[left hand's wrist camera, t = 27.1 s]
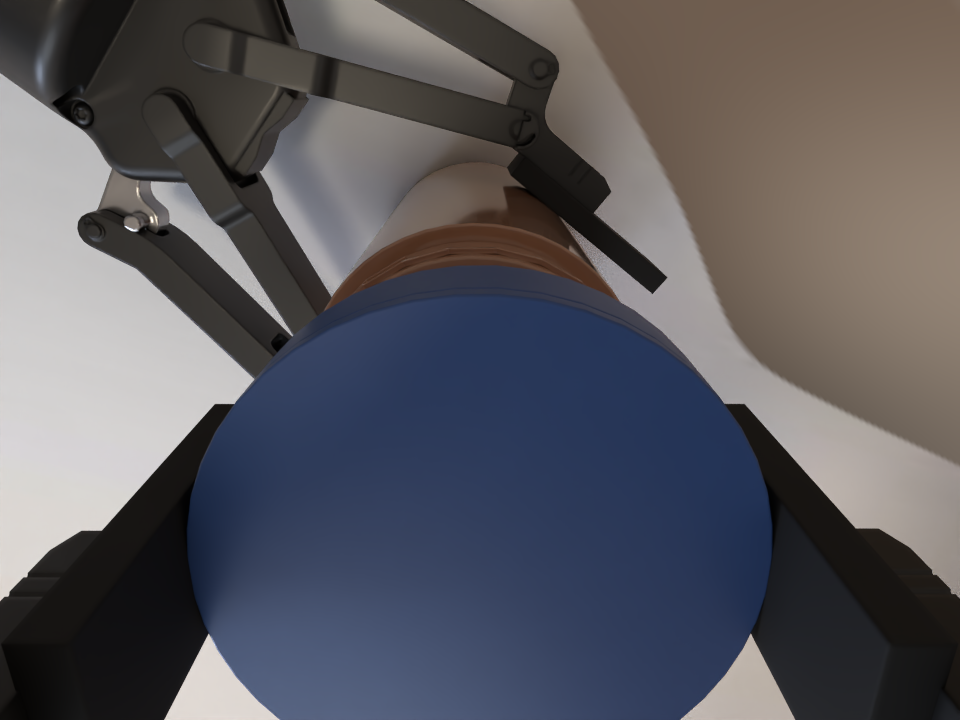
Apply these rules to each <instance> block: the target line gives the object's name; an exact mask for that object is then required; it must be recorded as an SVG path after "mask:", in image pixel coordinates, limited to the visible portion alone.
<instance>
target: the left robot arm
mask: <svg viewBox="0 0 960 720" xmlns="http://www.w3.org/2000/svg"><path fill="white" fill-rule="evenodd" d="M233 406H234V404H215V405H214V406H213V407H212V408H211V409H210V410H209V411H208V413H207V414H206V415H205V416H204V417H203V418H202V419H201V420H200V422H199V423H198V424H197V425H196V426H195V427H194V428H193V429H192V430H191V432H190V433H189V434H188V435H187V436H186V437H185V438H184V439H183V441H182V442H181V443H180V444H179V445H178V446H177V447H176V448H175V450H174V451H173V452H172V453H171V454H170V455H169V456H168V457H167V458H166V460H165V461H164V462H163V463H162V464H161V465H160V466H159V467H158V469H157V470H156V471H155V472H154V473H153V474H152V475H151V476H150V478H149V479H148V480H147V481H146V482H145V483H144V484H143V485H142V486H141V488H140V489H139V490H138V491H137V492H136V493H135V494H134V495H133V497H132V498H131V499H130V500H129V501H128V502H127V503H126V504H125V506H124V507H123V508H122V509H121V510H120V511H119V512H118V513H117V514H116V516H115V517H114V518H113V519H112V520H111V521H110V522H109V523H108V525H107V526H106V527H105V528H104V529H103V530H102V531H80V532H79V533H77V534H76V535H74V536H72V537H71V538H69V539H67V540H66V541H64V542H63V543H61V544H59V545H58V546H56V547H54V548H53V549H51V550H50V551H49V552H48V553H47V554H46V555H45V556H44V557H43V558H42V559H41V560H40V561H39V562H38V563H37V564H36V565H35V566H34V567H33V568H32V569H31V570H30V571H29V572H28V577H23V578H22V580H21V581H20V582H19V583H18V584H17V585H16V586H15V587H14V588H13V589H12V590H11V591H10V594H9V597H4V598H3V599H2V600H1V601H0V720H164V719H165V717H166V715H167V713H168V711H169V709H170V707H171V705H172V704H173V702H174V700H175V698H176V696H177V694H178V692H179V690H180V688H181V686H182V684H183V682H184V680H185V678H186V676H187V674H188V672H189V671H190V669H191V667H192V665H193V663H194V661H195V659H196V657H197V655H198V653H199V651H200V649H201V647H202V645H203V643H204V641H205V639H206V638H207V636H208V634H209V633H208V631H207V629H206V627H205V625H204V623H203V620H202V617H201V614H200V611H199V608H198V605H197V603H196V600H195V596H194V591H193V585H192V580H191V574H190V569H189V563H188V556H187V521H188V514H189V506H190V498H191V493H192V490H193V487H194V483H195V480H196V477H197V473H198V470H199V467H200V463H201V461H202V459H203V457H204V455H205V453H206V451H207V449H208V446H209V444H210V442H211V440H212V438H213V436H214V434H215V432H216V430H217V429H218V427H219V426H220V424H221V423H222V422H223V420H224V419H225V417H226V416H227V414H228V413H229V411H230V410H231V408H232V407H233ZM725 406H726V407H727V408H728V410H729V411H730V413H731V414H732V415H733V417H734V418H735V419H736V421H737V422H738V424H739V425H740V426H741V428H742V430H743V432H744V434H745V436H746V438H747V440H748V442H749V444H750V446H751V448H752V450H753V452H754V454H755V456H756V458H757V460H758V463H759V466H760V469H761V472H762V476H763V479H764V482H765V485H766V488H767V491H768V497H769V504H770V511H771V517H772V524H773V536H772V560H771V566H770V572H769V578H768V583H767V589H766V594H765V598H764V601H763V604H762V607H761V610H760V613H759V616H758V619H757V621H756V623H755V625H754V627H753V629H752V631H751V634H752V636H753V638H754V640H755V642H756V644H757V646H758V648H759V650H760V652H761V654H762V656H763V658H764V660H765V662H766V664H767V666H768V667H769V669H770V671H771V673H772V675H773V677H774V679H775V681H776V683H777V685H778V687H779V689H780V691H781V693H782V695H783V697H784V699H785V700H786V702H787V704H788V706H789V708H790V710H791V712H792V714H793V716H794V718H795V720H960V598H959V597H958V596H957V595H956V594H951V589H950V588H949V587H948V586H947V585H946V584H945V583H944V582H943V581H942V580H941V579H940V578H939V577H938V576H937V575H933V574H932V570H931V569H930V568H929V567H928V566H927V565H926V564H925V563H924V562H923V561H922V560H921V559H920V558H919V557H918V555H917V554H916V553H915V552H914V551H913V550H912V549H911V548H909V547H908V546H906V545H904V544H903V543H901V542H900V541H898V540H896V539H895V538H893V537H891V536H890V535H888V534H886V533H885V532H883V531H882V530H880V529H856V528H855V527H854V526H853V525H852V524H851V523H850V522H849V521H848V519H847V518H846V517H845V516H844V515H843V514H842V513H841V512H840V510H839V509H838V508H837V507H836V506H835V505H834V504H833V503H832V502H831V500H830V499H829V498H828V497H827V496H826V495H825V494H824V493H823V491H822V490H821V489H820V488H819V487H818V486H817V485H816V484H815V482H814V481H813V480H812V479H811V478H810V477H809V476H808V475H807V474H806V472H805V471H804V470H803V469H802V468H801V467H800V466H799V465H798V463H797V462H796V461H795V460H794V459H793V458H792V457H791V456H790V455H789V453H788V452H787V451H786V450H785V449H784V448H783V447H782V446H781V444H780V443H779V442H778V441H777V440H776V439H775V438H774V437H773V435H772V434H771V433H770V432H769V431H768V430H767V429H766V428H765V427H764V425H763V424H762V423H761V422H760V421H759V420H758V419H757V418H756V416H755V415H754V414H753V413H752V412H751V411H750V410H749V409H748V407H747V406H746V405H745V404H725Z"/></svg>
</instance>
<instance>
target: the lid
mask: <svg viewBox="0 0 960 720" xmlns="http://www.w3.org/2000/svg"><path fill="white" fill-rule="evenodd" d="M772 536H773V524H772V517H771V511H770V504H769V497H768V491H767V488H766V485H765V482H764V479H763V476H762V472H761V469H760V466H759V463H758V460H757V458H756V456H755V454H754V452H753V450H752V448H751V446H750V444H749V442H748V440H747V438H746V436H745V434H744V432H743V430H742V428H741V426H740V425H739V424H738V422H737V421H736V419H735V418H734V417H733V415H732V414H731V413H730V411H729V410H728V408H727V407H726V406H725V404H724V403H723V401H722V400H721V399H720V397H719V396H718V395H717V394H716V392H715V391H714V390H713V389H712V388H711V386H710V385H709V384H708V383H707V382H706V380H705V379H704V378H703V377H702V375H701V374H700V373H699V372H698V371H697V369H696V368H695V367H694V366H693V365H692V363H691V362H690V361H689V360H688V359H687V357H686V356H685V355H684V354H683V353H682V352H681V351H680V350H679V349H678V348H677V347H676V346H675V345H674V344H673V343H672V342H671V341H670V340H669V339H668V338H667V337H666V335H665V334H664V333H663V332H662V331H660V330H659V329H658V328H656V327H655V326H654V325H653V324H651V323H650V322H649V321H647V320H646V319H645V318H643V317H642V316H641V315H640V314H638V313H637V312H636V311H634V310H633V309H631V308H629V307H627V306H626V305H624V304H622V303H620V302H619V301H617V300H615V299H613V298H612V297H610V296H608V295H606V294H605V293H603V292H600V291H598V290H595V289H593V288H590V287H588V286H585V285H583V284H580V283H578V282H575V281H573V280H570V279H567V278H563V277H559V276H555V275H551V274H548V273H544V272H540V271H536V270H530V269H522V268H514V267H506V266H497V265H479V266H452V267H445V268H438V269H431V270H423V271H419V272H415V273H411V274H408V275H404V276H401V277H397V278H393V279H390V280H386V281H383V282H381V283H379V284H376V285H374V286H372V287H369V288H367V289H364V290H362V291H360V292H357V293H355V294H353V295H351V296H349V297H347V298H346V299H344V300H342V301H341V302H339V303H337V304H336V305H334V306H332V307H331V308H329V309H327V310H326V311H324V312H322V313H321V314H319V315H318V316H317V317H316V318H314V319H313V320H312V321H311V322H309V323H308V324H307V325H306V326H304V327H303V328H302V329H301V330H299V331H298V332H297V333H296V334H295V335H294V336H293V337H292V338H291V339H290V340H289V341H288V342H287V343H286V344H285V345H284V346H283V347H282V348H281V349H280V351H279V352H278V353H277V354H276V355H275V356H274V357H273V358H272V359H271V360H270V362H269V363H268V364H267V365H266V366H265V368H264V369H263V370H262V371H261V372H260V374H259V375H258V376H257V377H256V378H255V380H254V381H253V382H252V383H251V384H250V386H249V387H248V388H247V389H246V390H245V392H244V393H243V394H242V395H241V396H240V398H239V399H238V400H237V401H236V403H235V404H234V406H233V407H232V408H231V410H230V411H229V413H228V414H227V416H226V417H225V419H224V420H223V422H222V423H221V424H220V426H219V427H218V429H217V430H216V432H215V434H214V436H213V438H212V440H211V442H210V444H209V446H208V449H207V451H206V453H205V455H204V457H203V459H202V461H201V463H200V467H199V470H198V473H197V477H196V480H195V483H194V487H193V490H192V493H191V498H190V506H189V514H188V521H187V556H188V563H189V569H190V574H191V580H192V585H193V591H194V596H195V600H196V603H197V605H198V608H199V611H200V614H201V617H202V620H203V623H204V625H205V627H206V629H207V631H208V633H209V635H210V636H211V638H212V640H213V642H214V644H215V646H216V648H217V650H218V652H219V653H220V655H221V656H222V658H223V659H224V660H225V662H226V663H227V665H228V666H229V667H230V669H231V670H232V672H233V673H234V675H235V676H236V677H237V679H238V680H239V681H240V682H241V683H242V684H243V685H244V686H245V687H246V688H247V689H248V691H249V692H250V693H251V694H252V695H253V696H254V697H255V698H256V699H257V700H258V701H259V702H260V703H261V704H262V705H263V706H265V707H266V708H267V709H268V710H269V711H270V712H272V713H273V714H274V715H275V716H276V717H277V718H279V719H280V720H680V719H681V718H682V717H684V716H685V715H686V714H687V713H688V712H689V711H690V710H692V709H693V708H694V707H695V706H696V705H697V704H698V703H699V702H701V701H702V700H703V699H704V698H705V697H706V696H707V695H708V693H709V692H710V691H711V690H712V689H713V688H714V687H715V686H716V684H717V683H718V682H719V681H720V680H721V679H722V678H723V677H724V675H725V674H726V673H727V671H728V670H729V668H730V667H731V665H732V664H733V662H734V661H735V660H736V658H737V657H738V655H739V654H740V652H741V651H742V649H743V648H744V646H745V644H746V641H747V639H748V637H749V635H750V633H751V631H752V629H753V627H754V625H755V623H756V621H757V619H758V616H759V613H760V610H761V607H762V604H763V601H764V598H765V594H766V589H767V583H768V578H769V572H770V566H771V560H772Z"/></svg>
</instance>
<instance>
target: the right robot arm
mask: <svg viewBox="0 0 960 720" xmlns="http://www.w3.org/2000/svg"><path fill="white" fill-rule="evenodd" d="M375 1H377V2H379V3H381V4H382V5H384V6H386V7H387V8H389V9H391V10H393V11H394V12H396V13H398V14H399V15H401V16H403V17H405V18H406V19H408V20H410V21H411V22H413V23H415V24H417V25H418V26H420V27H422V28H423V29H425V30H427V31H429V32H430V33H432V34H434V35H435V36H437V37H439V38H441V39H442V40H444V41H446V42H448V43H449V44H451V45H453V46H454V47H456V48H458V49H460V50H461V51H463V52H465V53H466V54H468V55H470V56H472V57H473V58H475V59H477V60H478V61H480V62H482V63H484V64H485V65H487V66H489V67H490V68H492V69H494V70H496V71H497V72H499V73H501V74H502V75H504V76H506V77H508V78H509V79H511V80H513V81H514V82H513V85H512V88H511V91H510V94H509V97H508V100H507V103H506V105H504V104H500V103H496V102H493V101H489V100H485V99H482V98H478V97H474V96H471V95H467V94H463V93H460V92H456V91H452V90H449V89H445V88H441V87H438V86H434V85H431V84H427V83H423V82H420V81H416V80H412V79H409V78H405V77H401V76H398V75H394V74H390V73H387V72H383V71H379V70H376V69H372V68H368V67H365V66H361V65H357V64H354V63H350V62H347V61H343V60H339V59H336V58H332V57H328V56H325V55H321V54H317V53H314V52H310V51H306V50H303V49H300V48H299V45H298V42H297V39H296V36H295V33H294V31H293V28H292V25H291V22H290V19H289V16H288V13H287V10H286V7H285V4H284V1H283V0H0V73H1V74H2V75H4V76H5V77H7V78H8V79H9V80H11V81H12V82H14V83H15V84H16V85H18V86H19V87H21V88H22V89H23V90H25V91H26V92H28V93H29V94H30V95H32V96H33V97H34V98H36V99H37V100H39V101H40V102H41V103H43V104H44V105H46V106H47V107H48V108H50V109H51V110H53V111H54V112H56V113H57V114H59V115H60V116H62V117H63V118H65V119H66V120H68V121H70V122H71V123H73V124H74V125H76V126H78V127H79V128H80V129H82V130H83V131H84V132H86V133H87V134H88V135H89V137H90V138H91V139H92V140H93V141H94V143H95V144H96V145H97V147H98V148H99V150H100V151H101V153H102V155H103V157H104V159H105V160H106V162H107V163H108V164H109V165H110V166H111V167H112V171H111V174H110V176H109V179H108V182H107V185H106V188H105V191H104V193H103V196H102V199H101V202H100V205H99V208H98V209H97V210H96V211H94V212H90V213H87V214H85V215H84V216H82V217H81V218H80V220H79V221H78V228H77V229H78V232H79V235H80V237H81V238H82V240H83V241H84V242H85V243H87V244H88V245H90V246H91V247H93V248H95V249H98V250H100V251H102V252H104V253H106V254H108V255H110V256H112V257H114V258H116V259H118V260H120V261H122V262H124V263H126V264H128V265H130V266H132V267H134V268H136V269H137V270H138V271H139V272H141V273H142V274H143V275H144V276H145V277H146V278H147V279H148V280H149V281H150V282H151V283H152V284H153V285H154V286H156V287H157V288H158V289H159V290H160V291H161V292H162V293H163V294H164V295H165V296H166V297H167V298H168V299H169V300H170V301H172V302H173V303H174V304H175V305H176V306H177V307H178V308H179V309H180V310H181V311H182V312H183V313H184V314H185V315H187V316H188V317H189V318H190V319H191V320H192V321H193V322H194V323H195V324H196V325H197V326H198V327H199V328H200V329H202V330H203V331H204V332H205V333H206V334H207V335H208V336H209V337H210V338H211V339H212V340H213V341H214V342H215V343H217V344H218V345H219V346H220V347H221V348H222V349H223V350H224V351H225V352H226V353H227V354H228V355H229V356H230V357H231V358H233V359H234V360H235V361H236V362H237V363H238V364H239V365H240V366H241V367H242V368H243V369H244V370H245V371H246V372H248V373H249V374H250V375H251V376H252V377H253V378H254V379H255V378H256V377H257V376H258V375H259V374H260V372H261V371H262V370H263V369H264V368H265V366H266V365H267V364H268V363H269V362H270V360H271V359H272V358H273V357H274V356H275V355H276V354H277V353H278V352H279V351H280V349H281V348H282V347H283V346H284V345H285V344H286V343H287V342H288V341H289V340H290V339H291V338H292V336H291V335H290V334H289V333H288V332H287V331H286V330H285V329H284V328H283V327H282V326H281V325H280V324H279V323H278V322H277V321H276V320H275V319H274V318H272V317H271V316H270V315H269V314H268V313H267V312H266V311H265V310H264V309H263V308H262V307H261V306H260V305H259V304H258V303H257V302H256V301H255V300H254V299H253V298H252V297H251V296H250V295H249V294H248V293H247V292H246V291H245V290H244V289H243V288H242V287H241V286H240V285H239V284H238V283H237V282H236V281H235V280H234V279H233V278H232V277H231V276H230V275H229V274H227V273H226V272H225V271H224V270H223V269H222V268H221V267H220V266H219V265H218V264H217V263H216V262H215V261H214V260H213V259H212V258H211V257H210V256H209V255H208V254H207V253H206V252H205V251H204V250H203V249H202V248H201V247H200V246H199V245H198V244H197V243H196V242H195V241H193V240H192V239H191V238H190V237H189V236H188V235H187V234H185V233H184V232H182V231H181V230H180V229H178V228H177V227H175V226H174V225H172V224H170V223H169V212H168V210H167V208H166V207H164V206H163V205H162V204H161V203H160V202H159V201H158V200H156V198H155V197H154V196H153V194H152V191H151V181H156V182H178V183H188V185H189V186H190V188H191V189H192V191H193V192H194V194H195V195H196V197H197V198H198V200H199V201H200V203H201V204H202V206H203V208H204V209H205V211H206V212H207V214H208V215H209V217H210V218H211V219H212V220H213V221H214V222H215V223H216V224H217V225H219V226H220V227H222V228H223V229H224V230H225V231H226V232H227V234H228V235H229V237H230V238H231V240H232V242H233V243H234V245H235V246H236V248H237V249H238V251H239V252H240V254H241V255H242V257H243V259H244V260H245V262H246V263H247V265H248V266H249V268H250V269H251V271H252V272H253V274H254V275H255V277H256V279H257V280H258V282H259V283H260V285H261V286H262V288H263V289H264V291H265V292H266V294H267V296H268V297H269V299H270V300H271V302H272V303H273V305H274V306H275V308H276V309H277V311H278V313H279V314H280V316H281V317H282V319H283V320H284V322H285V323H286V325H287V326H288V328H289V330H290V331H291V333H292V334H293V336H294V335H295V334H296V333H297V332H298V331H299V330H301V329H302V328H303V327H304V326H306V325H307V324H308V323H309V322H311V321H312V320H313V319H314V318H316V317H317V316H318V315H319V314H321V313H322V312H324V310H325V308H326V306H327V305H328V303H329V301H330V300H331V298H332V297H331V296H330V294H329V292H328V291H327V289H326V287H325V286H324V284H323V283H322V281H321V279H320V278H319V276H318V274H317V273H316V271H315V270H314V268H313V266H312V265H311V263H310V261H309V260H308V258H307V256H306V255H305V253H304V252H303V250H302V248H301V247H300V245H299V243H298V242H297V240H296V239H295V237H294V235H293V234H292V232H291V230H290V229H289V227H288V225H287V224H286V222H285V221H284V219H283V217H282V216H281V214H280V212H279V211H278V209H277V208H276V206H275V204H274V202H273V197H272V193H271V190H270V188H269V187H268V185H267V183H266V182H265V180H264V178H263V177H262V175H261V173H260V172H259V171H262V169H263V168H264V166H265V165H266V163H267V162H268V160H269V159H270V157H271V156H272V154H273V152H274V149H275V146H276V142H277V139H278V136H279V133H280V131H281V130H282V129H284V128H285V127H286V126H287V125H288V124H290V123H291V122H292V121H293V120H294V119H295V118H297V117H298V115H299V114H300V112H301V110H302V109H303V107H304V106H305V104H306V103H307V101H308V100H309V99H308V98H307V97H306V94H307V93H308V94H312V95H316V96H320V97H325V98H330V99H334V100H338V101H341V102H345V103H349V104H352V105H356V106H360V107H364V108H367V109H371V110H375V111H379V112H382V113H386V114H390V115H394V116H397V117H401V118H405V119H408V120H412V121H416V122H420V123H423V124H427V125H431V126H435V127H438V128H442V129H446V130H449V131H453V132H457V133H461V134H464V135H468V136H472V137H476V138H479V139H483V140H487V141H490V142H494V143H498V144H502V145H505V146H509V147H512V148H513V149H515V150H516V151H517V152H518V154H517V156H516V157H515V158H514V159H513V161H512V162H511V163H510V165H509V166H508V167H507V169H508V171H509V173H510V176H512V177H513V178H514V179H515V180H516V181H518V182H519V183H520V184H521V185H522V186H524V187H525V188H526V189H527V190H528V191H530V192H531V193H532V194H533V195H534V196H536V197H537V198H538V199H539V200H540V201H542V202H543V203H544V204H545V205H546V206H548V207H549V208H550V209H551V210H552V211H554V212H555V213H556V214H557V215H558V216H560V217H561V218H562V219H563V220H564V221H566V222H567V223H568V224H569V225H570V226H572V227H573V228H574V229H575V230H576V231H578V232H579V233H580V234H581V235H582V236H584V237H585V238H586V239H587V240H588V241H590V242H591V243H592V244H593V245H595V246H596V247H597V248H598V249H599V250H601V251H602V252H603V253H604V254H605V255H607V256H608V257H609V258H610V259H611V260H613V261H614V262H615V263H616V264H617V265H619V266H620V267H621V268H622V269H623V270H625V271H626V272H627V273H628V274H629V275H631V276H632V277H633V278H634V279H635V280H637V281H638V282H639V283H640V284H641V285H643V286H644V287H645V288H646V289H647V290H649V291H650V292H651V293H652V294H653V293H654V292H655V291H656V290H657V288H658V287H659V286H660V285H661V284H662V283H663V282H664V281H665V280H666V279H667V277H666V276H665V275H664V274H663V273H662V272H661V271H660V270H659V269H658V268H657V267H656V266H655V265H654V264H653V263H652V262H651V261H649V260H648V259H647V258H646V257H645V256H644V255H642V254H641V253H640V252H639V251H638V250H636V249H635V248H634V247H633V246H632V245H631V244H629V243H628V242H627V241H626V240H625V239H624V238H622V237H621V236H620V235H619V234H618V233H616V232H615V231H614V230H613V229H612V228H611V227H609V226H608V225H607V224H606V223H605V222H603V221H602V220H601V219H600V218H599V217H598V216H596V215H595V214H594V212H595V210H596V209H597V208H598V207H599V206H600V205H601V203H602V202H603V201H604V200H605V199H606V197H607V196H608V195H609V194H610V193H611V190H610V188H609V186H608V184H607V182H606V180H605V178H604V177H603V176H602V175H601V174H599V173H598V172H597V171H596V170H595V169H594V168H593V167H591V166H590V165H589V164H588V163H587V162H586V161H584V160H583V159H582V158H581V157H580V156H579V155H578V154H576V153H575V152H574V151H573V150H572V149H571V148H569V147H568V146H567V145H566V144H565V143H564V142H563V141H561V140H560V139H559V138H558V137H557V136H556V135H554V134H553V133H552V132H551V130H550V129H549V128H548V126H547V124H546V120H545V108H546V104H547V101H548V98H549V95H550V93H551V90H552V87H553V84H554V81H555V80H556V79H557V76H558V73H559V63H558V61H557V59H556V56H555V55H554V54H553V53H551V52H550V51H549V50H547V49H546V48H544V47H542V46H541V45H539V44H537V43H536V42H534V41H532V40H531V39H529V38H527V37H526V36H524V35H522V34H521V33H519V32H517V31H516V30H514V29H512V28H511V27H509V26H507V25H506V24H504V23H502V22H501V21H499V20H497V19H496V18H494V17H492V16H491V15H489V14H487V13H485V12H484V11H482V10H480V9H479V8H477V7H475V6H474V5H472V4H470V3H469V2H467V1H465V0H375Z"/></svg>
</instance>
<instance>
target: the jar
mask: <svg viewBox="0 0 960 720" xmlns="http://www.w3.org/2000/svg"><path fill="white" fill-rule="evenodd" d="M479 265H497V266H506V267H514V268H522V269H530V270H536V271H540V272H544V273H548V274H551V275H555V276H559V277H563V278H567V279H570V280H573V281H575V282H578V283H580V284H583V285H585V286H588V287H590V288H593V289H595V290H598V291H600V292H603V293H605V294H606V295H608V296H610V297H612V298H613V299H615V300H617V301H619V300H618V298H617V297H616V295H615V293H614V292H613V290H612V289H611V287H610V286H609V285H608V283H607V282H606V280H605V279H604V277H603V276H602V275H601V273H600V272H599V270H598V269H597V267H596V266H595V265H594V263H593V262H592V260H591V259H590V257H589V256H588V255H587V253H586V252H585V250H584V249H583V247H582V246H581V245H580V243H579V242H578V240H577V239H576V237H575V236H574V235H573V233H572V232H571V230H570V229H569V227H568V226H567V225H566V223H565V222H564V220H563V219H562V218H561V217H560V216H558V215H557V214H556V213H555V212H554V211H552V210H551V209H550V208H549V207H548V206H546V205H545V204H544V203H543V202H542V201H540V200H539V199H538V198H537V197H536V196H534V195H533V194H532V193H531V192H530V191H528V190H527V189H526V188H525V187H524V186H522V185H521V184H520V183H519V182H518V181H516V180H515V179H514V178H513V177H512V176H510V173H509V171H508V169H507V168H506V167H503V166H500V165H496V164H491V163H484V162H468V163H460V164H455V165H451V166H448V167H445V168H442V169H440V170H437V171H435V172H434V173H432V174H430V175H428V176H426V177H425V178H424V179H422V180H421V181H420V182H418V183H417V184H416V185H415V186H414V187H413V188H412V189H411V190H410V191H409V192H408V193H407V194H406V195H405V197H404V198H403V199H402V200H401V202H400V203H399V205H398V206H397V207H396V209H395V210H394V211H393V213H392V214H391V216H390V217H389V218H388V220H387V221H386V223H385V224H384V225H383V227H382V228H381V229H380V231H379V232H378V234H377V235H376V236H375V238H374V239H373V241H372V242H371V243H370V245H369V246H368V247H367V249H366V250H365V252H364V253H363V254H362V256H361V257H360V258H359V260H358V261H357V263H356V264H355V265H354V267H353V268H352V270H351V271H350V272H349V274H348V275H347V276H346V278H345V279H344V281H343V282H342V283H341V285H340V286H339V288H338V289H337V290H336V292H335V293H334V295H333V296H332V298H331V300H330V301H329V303H328V305H327V306H326V308H325V310H324V311H326V310H327V309H329V308H331V307H332V306H334V305H336V304H337V303H339V302H341V301H342V300H344V299H346V298H347V297H349V296H351V295H353V294H355V293H357V292H360V291H362V290H364V289H367V288H369V287H372V286H374V285H376V284H379V283H381V282H383V281H386V280H390V279H393V278H397V277H401V276H404V275H408V274H411V273H415V272H419V271H423V270H431V269H438V268H445V267H452V266H479ZM619 302H620V301H619Z"/></svg>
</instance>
